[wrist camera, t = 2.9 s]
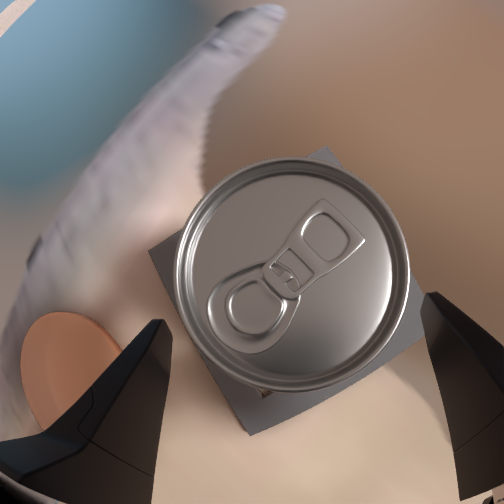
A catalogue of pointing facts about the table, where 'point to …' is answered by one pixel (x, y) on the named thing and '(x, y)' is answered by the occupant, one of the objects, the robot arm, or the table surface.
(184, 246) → the can
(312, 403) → the gray square frame
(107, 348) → the plate
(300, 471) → the table surface
